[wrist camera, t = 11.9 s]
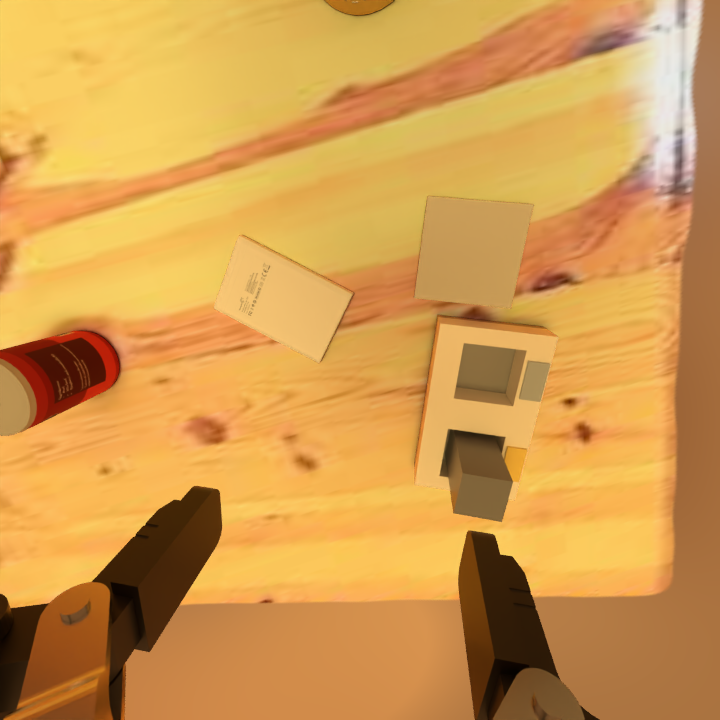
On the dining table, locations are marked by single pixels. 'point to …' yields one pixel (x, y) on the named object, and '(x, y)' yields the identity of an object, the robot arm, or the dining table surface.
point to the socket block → (482, 391)
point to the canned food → (52, 377)
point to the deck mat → (471, 251)
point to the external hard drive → (281, 299)
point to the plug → (477, 475)
